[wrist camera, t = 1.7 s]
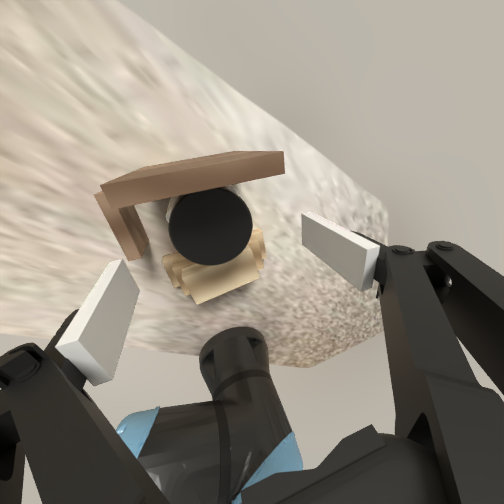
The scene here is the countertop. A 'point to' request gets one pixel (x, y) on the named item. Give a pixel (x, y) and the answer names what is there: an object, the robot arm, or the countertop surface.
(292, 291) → the countertop surface
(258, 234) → the offcut long
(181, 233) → the jar
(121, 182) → the rack
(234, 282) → the offcut short
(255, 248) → the offcut mid
